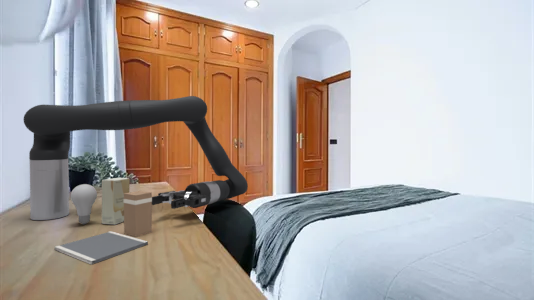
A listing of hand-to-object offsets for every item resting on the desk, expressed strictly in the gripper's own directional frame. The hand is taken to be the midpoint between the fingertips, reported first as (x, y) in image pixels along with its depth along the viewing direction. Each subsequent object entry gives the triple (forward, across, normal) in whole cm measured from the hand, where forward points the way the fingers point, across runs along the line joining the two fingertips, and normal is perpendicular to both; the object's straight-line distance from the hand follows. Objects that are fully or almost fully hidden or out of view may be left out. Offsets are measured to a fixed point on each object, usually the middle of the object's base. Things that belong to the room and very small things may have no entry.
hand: (161, 203), depth 76 cm
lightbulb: (+10, -19, +6) cm, 22 cm away
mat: (+17, +2, +6) cm, 18 cm away
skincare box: (+4, -14, +6) cm, 16 cm away
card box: (+7, 0, +6) cm, 9 cm away
